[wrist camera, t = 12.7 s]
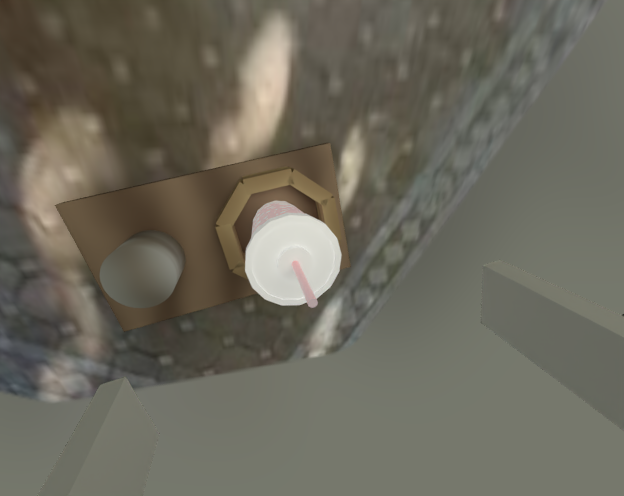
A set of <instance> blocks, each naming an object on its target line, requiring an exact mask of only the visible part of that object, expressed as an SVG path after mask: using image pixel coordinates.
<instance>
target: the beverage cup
mask: <svg viewBox="0 0 624 496" xmlns="http://www.w3.org/2000/svg"><path fill="white" fill-rule="evenodd" d="M340 262H341V251H340V247H339V243H338V240H337V237H336V236H335V235H334V234H333V233H332V231H331V230H330V229H329V228H328V227H327V225H326V224H325V223H323V222H322V221H320V220H318V219H316V218H314V217H312V216H310V215H308V214H305V213H303V212H302V211H301V210H299V209H298V208H296V207H295V206H294V205H292V204H290V203H288V202H286V201H272V202H269V203H266V204H265V205H263V206H262V207H261V208H260V209H259V210H258V211H257V213H256V215H255V217H254V219H253V226H252V235H251V239H250V241H249V243H248V245H247V247H246V257H245V272H246V274H247V277H248V279H249V282H250V284H251V286H252V288H253V289H254V290H255V291H256V292H257V293H259V294H260V295H261V296H262V297H263V298H264V299H265V300H268V301H271V302H274V303H276V304H279V305H301V304H304V303H307V304H308V306H309V307H311V308H313V307H316V306H317V304H318V302H317V298H318V297H319V296H320V295H322V294H323V293H324V292H325V291H326V290H328V289H329V288H330V287H331V285H332V283H333V282H334V280H335V278H336V276H337V275H338V273H339V269H340Z"/></svg>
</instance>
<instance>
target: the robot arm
mask: <svg viewBox="0 0 624 496" xmlns="http://www.w3.org/2000/svg"><path fill="white" fill-rule="evenodd" d="M481 323H482V324H483V325H484V326H486V327H487V328H488V329H490V330H491V331H492V332H494V333H495V334H496V335H498V336H499V337H500V338H501V339H503V340H504V341H505V342H507V343H508V344H509V345H511V346H512V347H513V348H515V349H516V350H517V351H519V352H520V353H521V354H523V355H524V356H525V357H527V358H528V359H529V360H531V361H532V362H533V363H535V364H536V365H537V366H538V367H540V368H541V369H542V370H544V371H545V372H546V373H548V374H549V375H550V376H552V377H553V378H554V379H556V380H557V381H558V382H560V383H561V384H562V385H564V386H565V387H566V388H568V389H569V390H570V391H572V392H573V393H574V394H576V395H577V396H578V397H579V398H581V399H582V400H583V401H585V402H586V403H587V404H589V405H590V406H591V407H593V408H594V409H595V410H597V411H598V412H599V413H601V414H602V415H603V416H605V417H606V418H607V419H609V420H610V421H611V422H613V423H614V424H615V425H617V426H618V427H619V428H620V429H622V430H623V431H624V314H623V315H620V314H617V313H615V312H613V311H611V310H609V309H607V308H605V307H602V306H600V305H598V304H596V303H594V302H591V301H589V300H587V299H585V298H583V297H581V296H578V295H576V294H574V293H572V292H569V291H567V290H565V289H563V288H561V287H559V286H556V285H554V284H552V283H550V282H548V281H546V280H543V279H541V278H539V277H537V276H535V275H532V274H530V273H528V272H526V271H524V270H522V269H519V268H517V267H515V266H513V265H511V264H508V263H506V262H504V261H502V260H497V261H494V262H491V263H488V264H485V265H483V274H482V304H481ZM158 437H159V432H158V430H157V429H156V427H155V425H154V423H153V422H152V420H151V418H150V417H149V415H148V413H147V412H146V410H145V408H144V407H143V405H142V403H141V402H140V400H139V398H138V397H137V395H136V393H135V392H134V390H133V388H132V386H131V385H130V383H129V381H128V380H127V378H126V377H123V378H120V379H117V380H113V381H110V382H107V383H104V384H101V385H100V386H99V388H98V390H97V391H96V393H95V395H94V397H93V399H92V400H91V402H90V404H89V406H88V408H87V409H86V411H85V413H84V414H83V416H82V418H81V420H80V421H79V423H78V425H77V427H76V429H75V430H74V432H73V434H72V435H71V437H70V439H69V441H68V442H67V444H66V446H65V448H64V450H63V451H62V453H61V455H60V457H59V458H58V460H57V462H56V464H55V465H54V467H53V469H52V471H51V472H50V474H49V476H48V478H47V480H46V481H45V483H44V485H43V487H42V488H41V490H40V492H39V493H38V495H37V496H143V492H144V488H145V485H146V481H147V478H148V474H149V470H150V467H151V463H152V459H153V455H154V452H155V448H156V445H157V441H158Z"/></svg>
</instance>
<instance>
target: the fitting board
mask: <svg viewBox="0 0 624 496" xmlns="http://www.w3.org/2000/svg"><path fill="white" fill-rule="evenodd" d="M272 201H286V202H288V203H290V204H292V205H294V206H295V207H296V208H298V209H299V210H301V211H302V212H303V213H305V214H308V215H310V216H312V217H314V218H316V219H318V220H320V221H322V222H323V223H325V224H326V225H327V227H328V228H329V229H330V230H331V231H332V233H333V234H334V235H335V236H336V237H337V240H338V243H339V247H340V251H341V262H340V269H344V268H347V267H351V266H350V260H349V254H348V248H347V242H346V236H345V230H344V224H343V218H342V212H341V206H340V200H339V194H338V188H337V182H336V176H335V170H334V164H333V158H332V152H331V146H330V143H324V144H320V145H316V146H311V147H307V148H302V149H298V150H293V151H289V152H285V153H280V154H276V155H271V156H267V157H262V158H258V159H253V160H249V161H245V162H240V163H236V164H231V165H227V166H222V167H218V168H214V169H209V170H205V171H200V172H196V173H191V174H187V175H182V176H178V177H174V178H169V179H165V180H160V181H156V182H151V183H147V184H143V185H138V186H134V187H129V188H125V189H120V190H116V191H112V192H107V193H103V194H98V195H94V196H89V197H85V198H80V199H76V200H72V201H67V202H63V203H60V204H57V205H55V206H56V208H57V210H58V212H59V214H60V215H61V217H62V219H63V221H64V223H65V225H66V226H67V228H68V230H69V232H70V234H71V235H72V237H73V239H74V241H75V243H76V245H77V246H78V248H79V250H80V252H81V254H82V256H83V257H84V259H85V261H86V263H87V265H88V267H89V268H90V270H91V272H92V274H93V276H94V278H95V279H96V281H97V283H98V285H99V287H100V289H101V290H102V292H103V294H104V296H105V298H106V300H107V301H108V303H109V305H110V307H111V309H112V311H113V312H114V314H115V316H116V318H117V320H118V322H119V323H120V325H121V327H122V329H123V331H124V332H125V331H129V330H132V329H136V328H139V327H143V326H146V325H149V324H153V323H156V322H160V321H163V320H167V319H170V318H174V317H177V316H181V315H184V314H188V313H191V312H195V311H198V310H202V309H205V308H209V307H212V306H215V305H219V304H222V303H226V302H229V301H233V300H236V299H240V298H243V297H247V296H250V295H254V294H257V292H256V291H255V290H254V289H253V288H252V286H251V284H250V282H249V279H248V277H247V274H246V272H245V257H246V247H247V245H248V243H249V241H250V239H251V235H252V226H253V219H254V217H255V215H256V213H257V211H258V210H259V209H260V208H261V207H262V206H263V205H265V204H266V203H269V202H272ZM340 269H339V270H340Z"/></svg>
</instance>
